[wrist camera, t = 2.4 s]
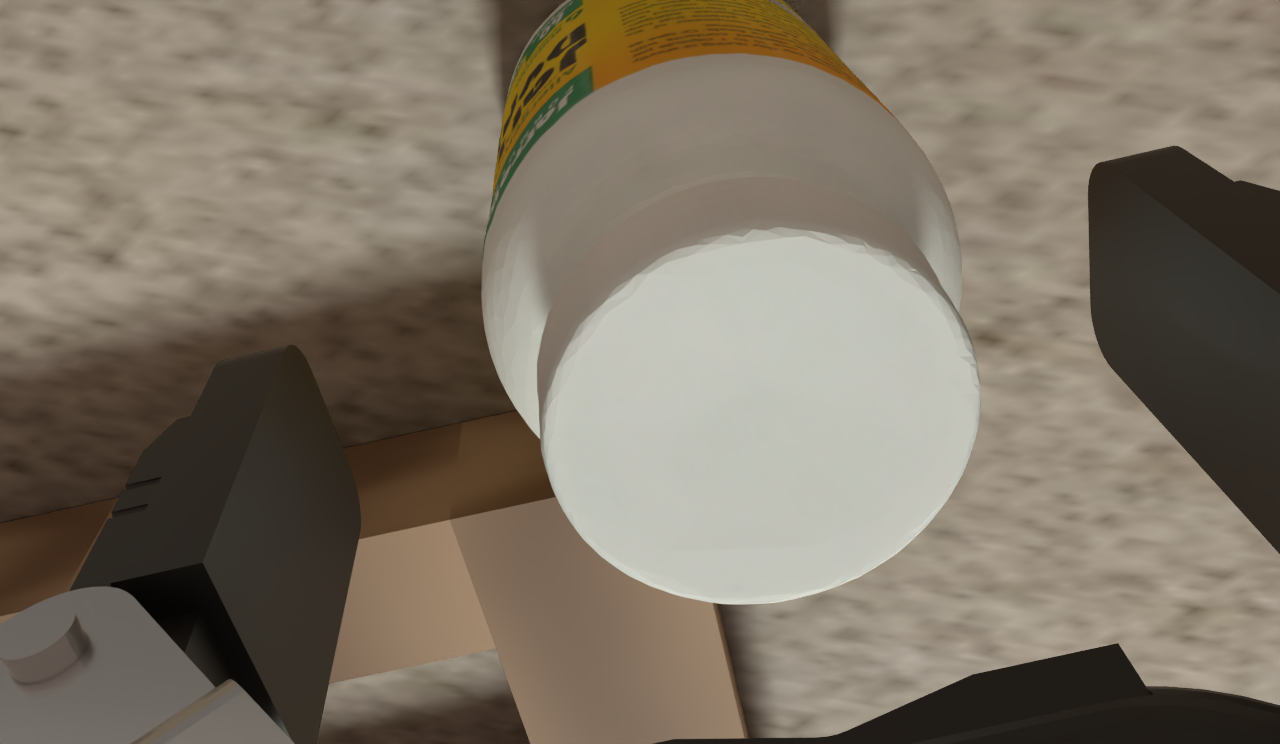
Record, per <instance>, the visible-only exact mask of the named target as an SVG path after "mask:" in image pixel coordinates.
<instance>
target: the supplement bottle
mask: <svg viewBox="0 0 1280 744" xmlns="http://www.w3.org/2000/svg"><path fill="white" fill-rule="evenodd" d="M961 290H962V261H961V251H960V243H959V237H958V233H957V228H956V223H955V219H954V215H953V212H952V209H951V205H950V202H949V200H948V197H947V195H946V192H945V190H944V188H943V185H942V183H941V181H940V179H939V177H938V175H937V173H936V172H935V170H934V168H933V167H932V165H931V163H930V162H929V160H928V158H927V157H926V155H925V154H924V152H923V151H922V149H921V148H920V147H919V145H918V144H917V143H916V142H915V140H914V139H913V138H912V137H911V135H910V134H909V133H908V131H907V130H906V129H905V128H904V126H903V125H902V124H901V123H900V122H899V121H898V120H897V119H896V118H895V117H894V115H893V114H892V113H891V112H890V111H889V110H888V109H887V108H886V107H885V106H884V105H883V104H882V103H881V102H880V101H879V100H878V99H877V97H876V96H875V95H874V94H873V93H872V92H871V91H870V90H869V89H868V88H867V87H866V86H865V85H864V84H863V83H862V82H861V81H860V80H859V79H858V78H857V77H856V76H855V75H854V74H853V73H852V71H851V70H850V69H849V68H848V67H847V66H846V65H845V64H844V63H843V62H842V61H841V59H840V58H839V57H838V56H837V55H836V54H835V53H834V52H833V51H832V50H831V49H830V48H829V47H828V46H827V44H826V43H825V42H824V41H823V40H822V39H821V37H820V36H819V35H818V34H817V33H816V32H815V31H814V30H813V29H812V28H811V27H810V26H809V25H808V24H807V23H806V22H805V21H804V20H803V19H802V18H801V17H800V16H799V15H798V13H797V12H796V11H795V10H794V9H793V8H792V7H791V6H790V5H789V4H788V3H787V2H785V1H784V0H566V1H565V2H563V3H562V4H561V5H560V6H559V7H558V8H557V9H556V10H555V11H553V12H552V13H551V14H550V15H549V17H548V18H547V19H546V20H545V21H544V22H543V23H542V24H541V25H540V26H539V27H538V29H537V30H536V31H535V32H534V34H533V35H532V37H531V38H530V40H529V42H528V43H527V45H526V47H525V48H524V50H523V52H522V54H521V56H520V58H519V61H518V63H517V65H516V67H515V70H514V73H513V76H512V79H511V83H510V86H509V89H508V94H507V99H506V103H505V108H504V112H503V116H502V128H501V135H500V139H499V147H498V155H497V163H496V169H495V176H494V187H493V196H492V203H491V208H490V214H489V220H488V225H487V230H486V235H485V240H484V248H483V257H482V291H481V299H482V312H483V321H484V328H485V334H486V338H487V342H488V346H489V350H490V354H491V357H492V360H493V363H494V365H495V368H496V371H497V374H498V376H499V378H500V380H501V382H502V384H503V386H504V388H505V390H506V392H507V394H508V396H509V398H510V399H511V401H512V403H513V404H514V406H515V408H516V409H517V411H518V412H519V413H520V415H521V416H522V418H523V419H524V420H525V422H526V423H527V425H528V426H529V427H530V429H531V430H532V431H533V432H534V433H535V434H536V435H537V437H538V438H539V439H540V443H541V452H542V456H543V460H544V464H545V468H546V471H547V474H548V477H549V480H550V483H551V486H552V489H553V491H554V494H555V496H556V498H557V500H558V502H559V504H560V506H561V508H562V510H563V512H564V513H565V515H566V516H567V518H568V519H569V521H570V522H571V524H572V525H573V526H574V528H575V529H576V531H577V532H578V533H579V534H580V536H581V537H582V538H583V539H584V540H585V542H586V543H588V544H589V545H590V546H591V547H592V548H593V549H594V550H595V551H596V552H597V553H598V554H599V555H600V556H601V557H602V558H604V559H605V560H606V561H608V562H609V563H610V564H612V565H613V566H615V567H616V568H617V569H619V570H620V571H622V572H623V573H625V574H627V575H628V576H630V577H632V578H634V579H636V580H639V581H641V582H643V583H645V584H647V585H649V586H651V587H654V588H656V589H660V590H663V591H665V592H668V593H671V594H674V595H678V596H681V597H685V598H690V599H695V600H700V601H705V602H711V603H719V604H762V603H777V602H781V601H786V600H791V599H796V598H800V597H804V596H808V595H812V594H816V593H819V592H822V591H825V590H828V589H831V588H834V587H837V586H839V585H841V584H844V583H846V582H848V581H851V580H853V579H856V578H858V577H860V576H862V575H864V574H865V573H867V572H868V571H870V570H872V569H874V568H876V567H877V566H879V565H880V564H882V563H883V562H885V561H886V560H888V559H889V558H891V557H893V556H894V555H895V554H897V553H898V552H899V551H900V550H902V549H903V548H904V547H905V546H907V545H908V544H909V543H910V542H911V541H912V540H913V539H914V538H915V537H916V536H917V535H918V534H919V533H920V532H921V531H922V530H923V529H924V528H925V527H926V526H927V525H928V524H929V523H930V521H931V520H932V519H933V518H934V516H935V515H936V514H937V513H938V511H939V510H940V509H941V508H942V506H943V505H944V504H945V503H946V501H947V500H948V498H949V497H950V495H951V493H952V492H953V490H954V488H955V487H956V485H957V483H958V481H959V480H960V478H961V476H962V474H963V471H964V469H965V467H966V465H967V463H968V460H969V457H970V454H971V451H972V448H973V445H974V441H975V437H976V434H977V429H978V423H979V418H980V407H981V395H980V380H979V372H978V367H977V362H976V357H975V353H974V349H973V346H972V342H971V339H970V336H969V333H968V331H967V328H966V326H965V324H964V322H963V320H962V318H961V316H960V315H959V309H960V301H961Z"/></svg>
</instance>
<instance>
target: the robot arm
mask: <svg viewBox="0 0 1280 744" xmlns="http://www.w3.org/2000/svg"><path fill="white" fill-rule="evenodd" d="M1088 212H1089V258H1090V303H1091V316H1092V322H1093V327H1094V331H1095V335H1096V338H1097V341H1098V344H1099V347H1100V349H1101V352H1102V354H1103V356H1104V358H1105V359H1106V361H1107V363H1108V364H1109V365H1110V367H1111V368H1112V369H1113V370H1114V371H1115V372H1116V374H1117V375H1118V376H1119V377H1120V378H1121V379H1122V380H1123V381H1124V382H1125V384H1126V385H1127V386H1128V387H1129V388H1130V389H1131V390H1132V391H1133V392H1134V393H1135V395H1136V396H1137V397H1138V398H1139V399H1140V400H1141V401H1142V402H1143V403H1144V405H1145V406H1146V407H1147V408H1148V409H1149V410H1150V411H1151V412H1152V413H1153V414H1154V416H1155V417H1156V418H1157V419H1158V420H1159V421H1160V422H1161V423H1162V424H1163V426H1164V427H1165V428H1166V429H1167V430H1168V431H1169V432H1170V433H1171V434H1172V435H1173V437H1174V438H1175V439H1176V440H1177V441H1178V442H1179V443H1180V444H1181V445H1182V447H1183V448H1184V449H1185V450H1186V451H1187V452H1188V453H1189V454H1190V455H1191V456H1192V458H1193V459H1194V460H1195V461H1196V462H1197V463H1198V464H1199V465H1200V466H1201V467H1202V469H1203V470H1204V471H1205V472H1206V473H1207V474H1208V475H1209V476H1210V477H1211V479H1212V480H1213V481H1214V482H1215V483H1216V484H1217V485H1218V486H1219V487H1220V488H1221V490H1222V491H1223V492H1224V493H1225V494H1226V495H1227V496H1228V497H1229V498H1230V500H1231V501H1232V502H1233V503H1234V504H1235V505H1236V506H1237V507H1238V508H1239V509H1240V511H1241V512H1242V513H1243V514H1244V515H1245V516H1246V517H1247V518H1248V519H1249V521H1250V522H1251V523H1252V524H1253V525H1254V526H1255V527H1256V528H1257V529H1258V530H1259V532H1260V533H1261V534H1262V535H1263V536H1264V537H1265V538H1266V539H1267V540H1268V542H1269V543H1270V544H1271V545H1272V546H1273V547H1274V548H1275V549H1276V550H1277V551H1278V553H1279V554H1280V191H1278V190H1274V189H1271V188H1267V187H1263V186H1259V185H1256V184H1252V183H1248V182H1245V181H1241V180H1240V181H1236V182H1234V181H1232V180H1231V179H1229V178H1227V177H1226V176H1224V175H1223V174H1221V173H1220V172H1218V171H1217V170H1215V169H1214V168H1212V167H1211V166H1209V165H1207V164H1206V163H1204V162H1203V161H1201V160H1200V159H1198V158H1197V157H1195V156H1194V155H1192V154H1190V153H1189V152H1187V151H1186V150H1184V149H1183V148H1181V147H1179V146H1171V147H1166V148H1162V149H1157V150H1153V151H1149V152H1144V153H1140V154H1135V155H1131V156H1127V157H1122V158H1118V159H1113V160H1109V161H1105V162H1100V163H1098V164H1096V165H1095V167H1094V168H1093V170H1092V172H1091V175H1090V179H1089V186H1088ZM126 488H127V490H126V491H122V492H121V494H120V496H119V498H118V500H117V502H116V504H115V506H114V507H113V509H112V511H111V513H112V518H109V519H107V521H106V523H105V524H104V526H103V528H102V530H101V532H100V534H99V536H98V538H97V540H96V541H95V543H94V545H93V547H92V549H91V551H90V553H89V555H88V557H87V558H86V560H85V562H84V564H83V566H82V568H81V570H80V572H79V574H78V575H77V577H76V579H75V581H74V583H73V585H72V587H71V589H70V591H69V592H65V593H62V594H59V595H56V596H53V597H51V598H48V599H46V600H44V601H41V602H39V603H37V604H35V605H33V606H31V607H29V608H27V609H25V610H23V611H21V612H19V613H18V614H16V615H15V616H13V617H11V618H10V619H8V620H7V621H5V622H4V623H2V624H1V625H0V744H316V743H317V738H318V733H319V728H320V723H321V719H322V714H323V709H324V704H325V699H326V695H327V690H328V685H329V680H330V675H331V671H332V666H333V661H334V656H335V651H336V647H337V642H338V637H339V632H340V627H341V623H342V618H343V613H344V608H345V603H346V599H347V594H348V589H349V584H350V579H351V575H352V570H353V565H354V560H355V555H356V551H357V546H358V541H359V536H360V530H361V511H360V502H359V496H358V491H357V487H356V483H355V480H354V476H353V473H352V471H351V468H350V465H349V463H348V460H347V458H346V455H345V453H344V450H343V448H342V445H341V443H340V440H339V438H338V435H337V433H336V430H335V428H334V425H333V423H332V421H331V418H330V416H329V413H328V411H327V408H326V406H325V403H324V401H323V398H322V396H321V393H320V391H319V388H318V386H317V383H316V381H315V378H314V376H313V373H312V371H311V368H310V366H309V364H308V362H307V360H306V358H305V357H304V355H303V354H302V352H301V351H300V350H299V349H298V348H297V347H296V346H293V345H289V346H285V347H280V348H276V349H272V350H267V351H263V352H258V353H254V354H250V355H245V356H241V357H236V358H232V359H228V360H223V361H220V362H219V363H217V365H216V366H215V368H214V370H213V372H212V374H211V376H210V379H209V381H208V383H207V385H206V387H205V389H204V391H203V393H202V395H201V397H200V399H199V401H198V403H197V405H196V407H195V409H194V411H193V413H192V415H191V416H190V417H186V418H181V419H178V420H177V421H176V422H175V423H173V424H172V425H171V426H170V427H169V428H168V429H167V430H166V431H165V432H164V433H163V434H162V435H161V436H160V437H158V438H157V439H156V440H155V441H154V442H153V443H152V444H151V445H150V446H149V447H148V448H147V449H146V450H145V451H143V453H142V455H141V456H140V458H139V460H138V462H137V464H136V466H135V468H134V470H133V472H132V473H131V475H130V477H129V479H128V481H127V483H126ZM654 744H1280V705H1276V704H1272V703H1268V702H1264V701H1260V700H1256V699H1252V698H1248V697H1244V696H1239V695H1233V694H1227V693H1221V692H1215V691H1209V690H1203V689H1191V688H1178V687H1156V686H1145V685H1144V683H1143V681H1142V680H1141V678H1140V677H1139V675H1138V674H1137V672H1136V671H1135V669H1134V667H1133V666H1132V664H1131V663H1130V661H1129V660H1128V658H1127V656H1126V655H1125V653H1124V652H1123V650H1122V649H1121V647H1120V646H1119V644H1118V643H1117V644H1113V645H1108V646H1103V647H1099V648H1094V649H1089V650H1085V651H1080V652H1075V653H1071V654H1066V655H1062V656H1057V657H1052V658H1048V659H1043V660H1038V661H1034V662H1029V663H1024V664H1020V665H1015V666H1011V667H1006V668H1001V669H997V670H992V671H987V672H983V673H978V674H973V675H971V676H969V677H966V678H964V679H962V680H960V681H957V682H955V683H953V684H951V685H948V686H946V687H944V688H942V689H939V690H937V691H935V692H933V693H931V694H928V695H926V696H924V697H922V698H919V699H917V700H915V701H913V702H910V703H908V704H906V705H904V706H902V707H899V708H897V709H895V710H893V711H890V712H888V713H886V714H884V715H881V716H879V717H877V718H875V719H873V720H870V721H868V722H866V723H864V724H861V725H859V726H857V727H855V728H852V729H850V730H848V731H845V732H843V733H840V734H837V735H833V736H828V737H818V738H730V739H672V740H668V741H663V742H658V743H654Z"/></svg>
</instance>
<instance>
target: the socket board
mask: <svg viewBox="0 0 1280 744" xmlns="http://www.w3.org/2000/svg"><path fill="white" fill-rule="evenodd" d="M343 450H344V453H345V455H346V458H347V460H348V463H349V465H350V468H351V471H352V473H353V476H354V480H355V483H356V487H357V491H358V496H359V502H360V511H361V530H360V536H359V541H358V546H357V551H356V555H355V560H354V565H353V570H352V575H351V579H350V584H349V589H348V594H347V599H346V603H345V608H344V613H343V618H342V623H341V627H340V632H339V637H338V642H337V647H336V651H335V656H334V661H333V666H332V671H331V675H330V680H329V683H334V682H339V681H344V680H348V679H353V678H358V677H363V676H367V675H372V674H377V673H382V672H387V671H391V670H396V669H401V668H406V667H410V666H415V665H420V664H425V663H430V662H434V661H439V660H444V659H449V658H453V657H458V656H463V655H468V654H473V653H477V652H482V651H487V650H492V649H496V650H497V653H498V656H499V658H500V661H501V664H502V667H503V669H504V672H505V675H506V678H507V681H508V683H509V686H510V689H511V692H512V694H513V697H514V700H515V703H516V705H517V708H518V711H519V714H520V717H521V719H522V722H523V725H524V728H525V730H526V733H527V736H528V739H529V741H530V744H654V743H658V742H663V741H668V740H672V739H730V738H749V735H748V730H747V726H746V722H745V717H744V713H743V709H742V705H741V700H740V696H739V692H738V687H737V683H736V679H735V675H734V670H733V666H732V662H731V657H730V653H729V649H728V645H727V640H726V636H725V632H724V627H723V623H722V619H721V615H720V610H719V606H718V603H711V602H705V601H700V600H695V599H690V598H685V597H681V596H678V595H674V594H671V593H668V592H665V591H663V590H660V589H656V588H654V587H651V586H649V585H647V584H645V583H643V582H641V581H639V580H636V579H634V578H632V577H630V576H628V575H627V574H625V573H623V572H622V571H620V570H619V569H617V568H616V567H615V566H613V565H612V564H610V563H609V562H608V561H606V560H605V559H604V558H602V557H601V556H600V555H599V554H598V553H597V552H596V551H595V550H594V549H593V548H592V547H591V546H590V545H589V544H588V543H586V542H585V540H584V539H583V538H582V537H581V536H580V534H579V533H578V532H577V531H576V529H575V528H574V526H573V525H572V524H571V522H570V521H569V519H568V518H567V516H566V515H565V513H564V512H563V510H562V508H561V506H560V504H559V502H558V500H557V498H556V496H555V494H554V491H553V489H552V486H551V483H550V480H549V477H548V474H547V471H546V468H545V464H544V460H543V456H542V452H541V443H540V439H539V438H538V437H537V435H536V434H535V433H534V432H533V431H532V430H531V429H530V427H529V426H528V425H527V423H526V422H525V420H524V419H523V418H522V416H521V415H520V413H519V412H518V411H512V412H508V413H503V414H499V415H494V416H490V417H485V418H480V419H476V420H471V421H467V422H462V423H458V424H453V425H448V426H444V427H439V428H435V429H430V430H426V431H421V432H416V433H412V434H407V435H403V436H398V437H393V438H389V439H384V440H380V441H375V442H371V443H366V444H361V445H357V446H352V447H348V448H343ZM117 500H118V498H114V499H110V500H105V501H101V502H96V503H91V504H87V505H82V506H78V507H73V508H69V509H64V510H59V511H55V512H50V513H46V514H41V515H37V516H32V517H27V518H23V519H18V520H14V521H9V522H4V523H0V625H1V624H2V623H4V622H5V621H7V620H8V619H10V618H11V617H13V616H15V615H16V614H18V613H19V612H21V611H23V610H25V609H27V608H29V607H31V606H33V605H35V604H37V603H39V602H41V601H44V600H46V599H48V598H51V597H53V596H56V595H59V594H62V593H65V592H69V591H70V589H71V587H72V585H73V583H74V581H75V579H76V577H77V575H78V574H79V572H80V570H81V568H82V566H83V564H84V562H85V560H86V558H87V557H88V555H89V553H90V551H91V549H92V547H93V545H94V543H95V541H96V540H97V538H98V536H99V534H100V532H101V530H102V528H103V526H104V524H105V523H106V521H107V519H109V518H112V513H111V511H112V509H113V507H114V506H115V504H116V502H117Z"/></svg>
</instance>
